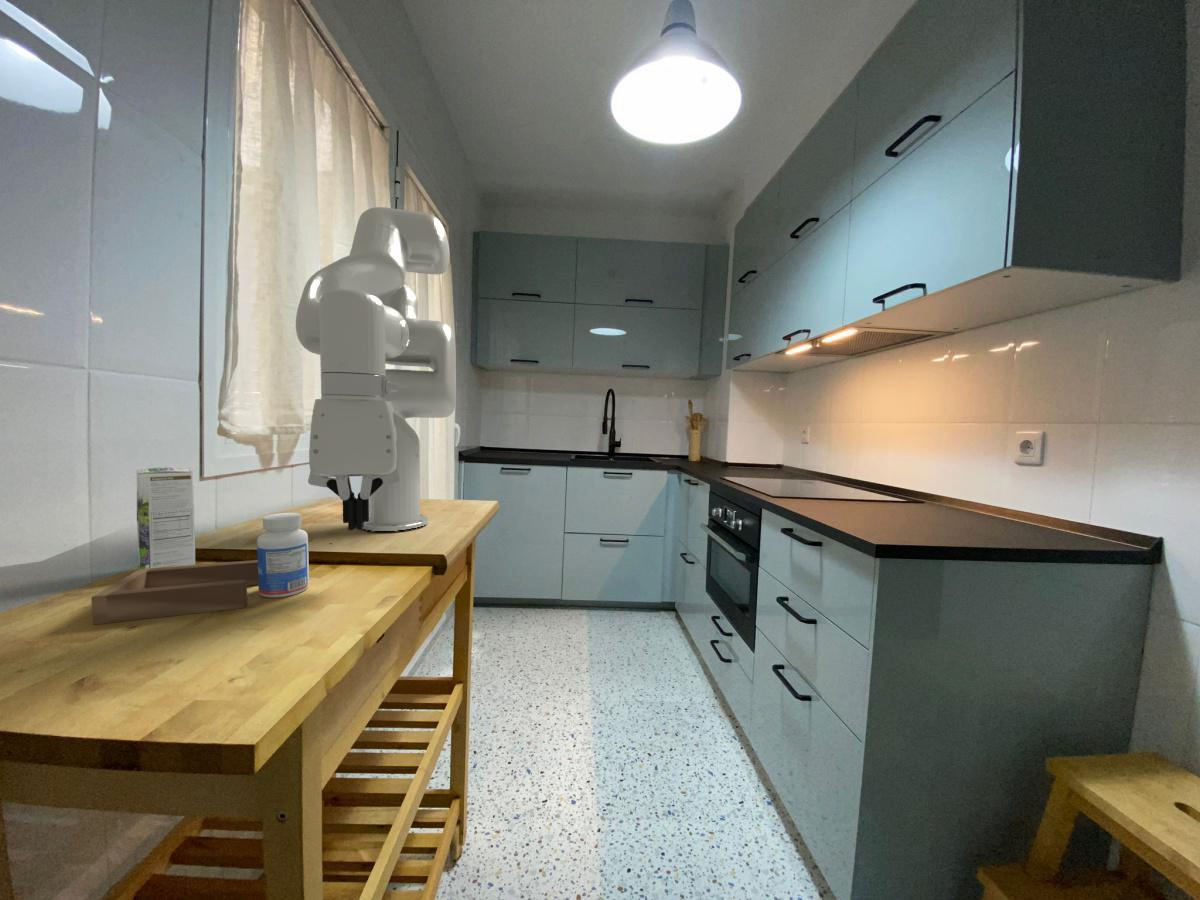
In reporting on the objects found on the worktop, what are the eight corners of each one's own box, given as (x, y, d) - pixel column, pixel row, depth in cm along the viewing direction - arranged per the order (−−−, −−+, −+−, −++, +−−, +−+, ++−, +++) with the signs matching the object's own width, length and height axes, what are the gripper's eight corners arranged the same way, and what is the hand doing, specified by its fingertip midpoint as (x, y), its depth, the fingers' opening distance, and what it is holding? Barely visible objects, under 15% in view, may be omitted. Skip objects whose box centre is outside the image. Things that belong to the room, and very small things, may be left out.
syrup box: (137, 570, 66) (132, 468, 65) (192, 561, 71) (188, 466, 70) (140, 580, 62) (135, 472, 61) (198, 570, 67) (194, 469, 66)
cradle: (140, 592, 58) (139, 569, 58) (267, 581, 63) (266, 559, 63) (92, 624, 49) (91, 596, 49) (244, 607, 54) (243, 582, 54)
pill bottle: (264, 586, 61) (262, 512, 61) (312, 581, 63) (311, 510, 63) (253, 601, 56) (250, 521, 56) (305, 595, 58) (303, 518, 58)
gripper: (415, 393, 67) (416, 518, 69) (293, 388, 62) (297, 525, 63) (415, 390, 61) (416, 530, 62) (279, 385, 55) (283, 539, 56)
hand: (356, 527), depth 62 cm, fingers closed
